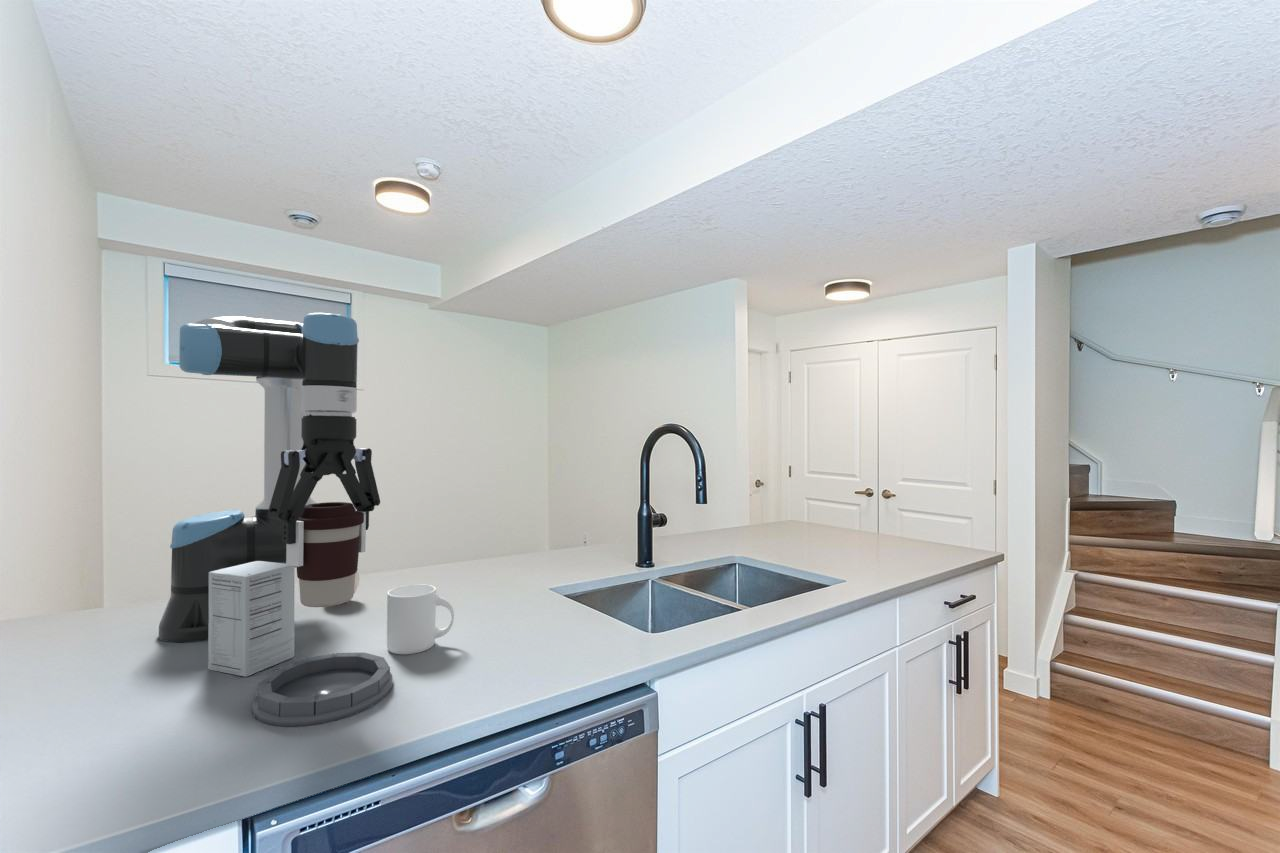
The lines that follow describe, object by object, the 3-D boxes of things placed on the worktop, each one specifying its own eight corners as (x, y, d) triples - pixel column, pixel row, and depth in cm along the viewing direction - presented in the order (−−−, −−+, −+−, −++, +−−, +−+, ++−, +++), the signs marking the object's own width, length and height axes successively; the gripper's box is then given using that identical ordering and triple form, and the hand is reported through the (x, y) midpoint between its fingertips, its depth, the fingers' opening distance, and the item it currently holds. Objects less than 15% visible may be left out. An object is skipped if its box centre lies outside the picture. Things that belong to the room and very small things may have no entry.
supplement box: (296, 657, 103) (297, 563, 103) (246, 678, 94) (247, 576, 94) (257, 649, 106) (258, 559, 106) (205, 669, 97) (206, 570, 97)
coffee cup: (309, 592, 93) (311, 500, 93) (372, 591, 94) (373, 500, 94) (276, 611, 83) (277, 509, 83) (346, 610, 84) (348, 509, 84)
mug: (450, 653, 106) (451, 595, 106) (381, 657, 103) (382, 597, 103) (456, 636, 114) (457, 582, 114) (392, 639, 112) (393, 584, 112)
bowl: (223, 707, 84) (223, 687, 84) (339, 660, 101) (339, 643, 101) (308, 739, 76) (308, 716, 76) (418, 682, 93) (418, 664, 93)
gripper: (271, 412, 77) (269, 577, 77) (404, 416, 97) (403, 546, 97) (238, 412, 80) (236, 571, 80) (373, 416, 101) (372, 542, 100)
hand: (327, 557), depth 89 cm, fingers closed on coffee cup, 10 cm apart
